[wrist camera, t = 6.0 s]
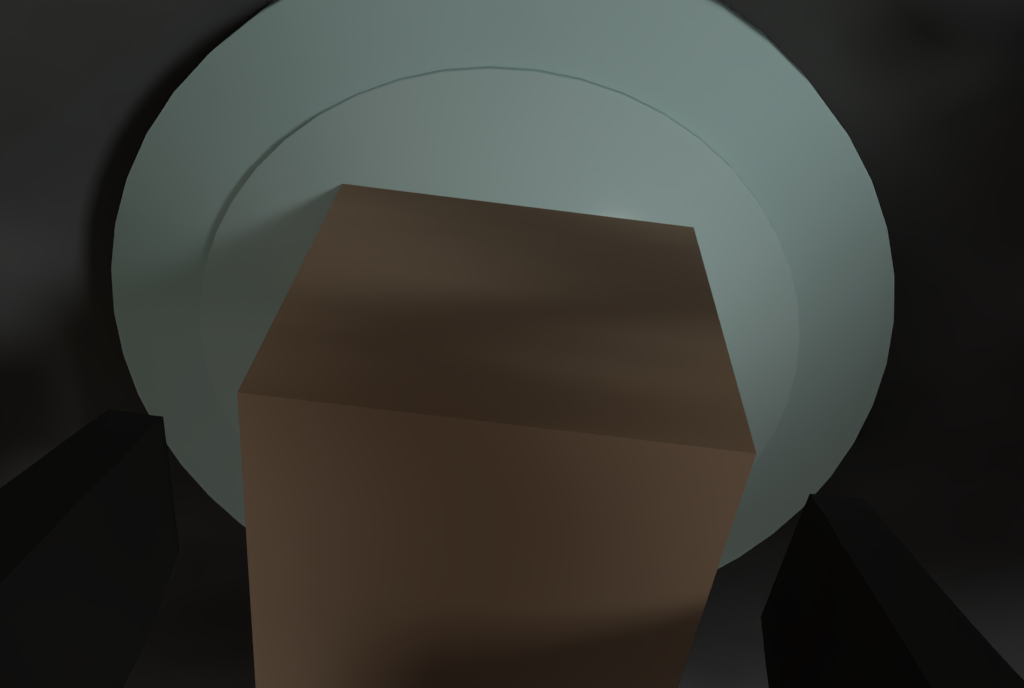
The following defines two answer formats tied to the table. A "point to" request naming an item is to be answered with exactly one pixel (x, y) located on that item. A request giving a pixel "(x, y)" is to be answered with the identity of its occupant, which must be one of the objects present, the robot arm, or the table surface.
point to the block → (488, 451)
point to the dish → (511, 197)
